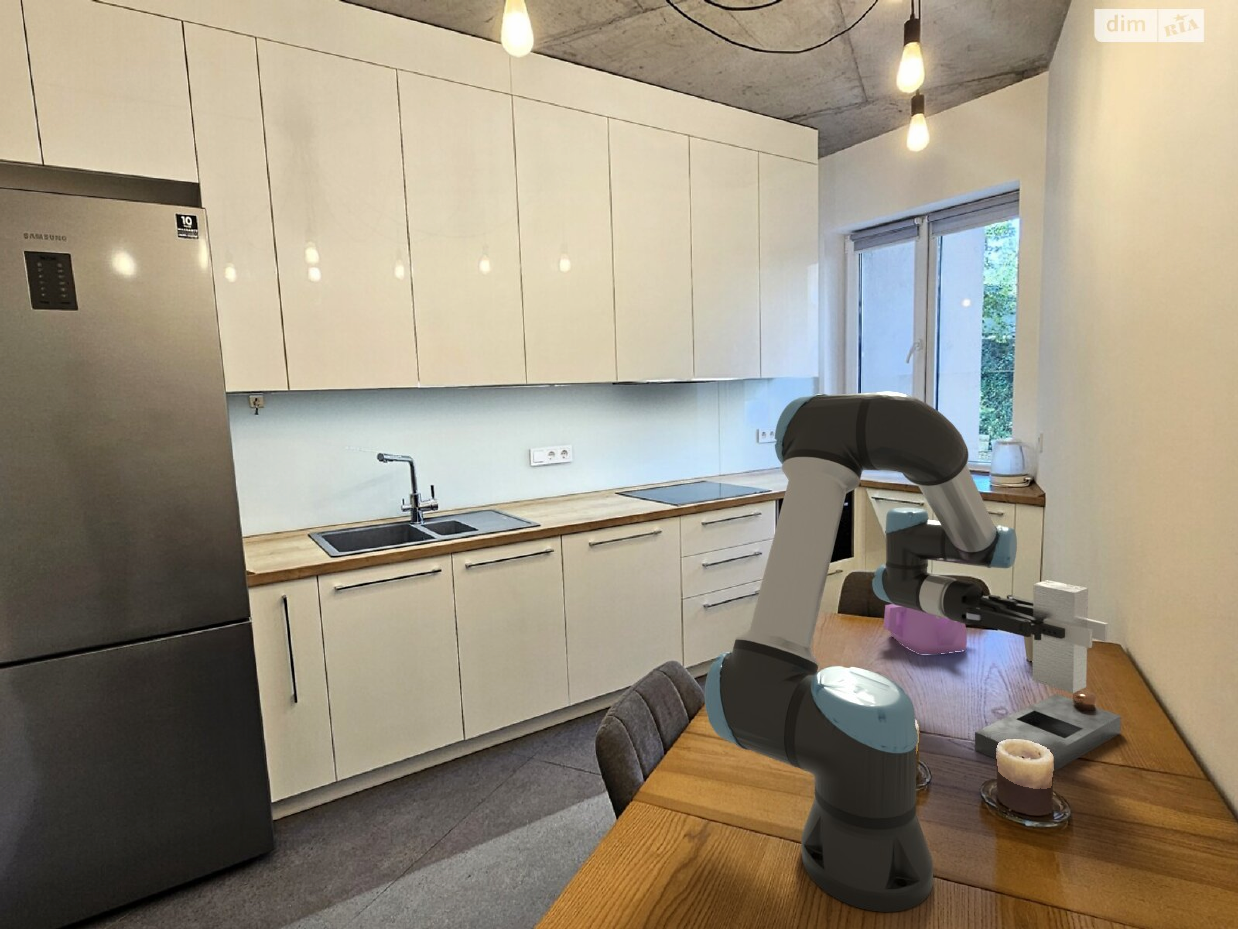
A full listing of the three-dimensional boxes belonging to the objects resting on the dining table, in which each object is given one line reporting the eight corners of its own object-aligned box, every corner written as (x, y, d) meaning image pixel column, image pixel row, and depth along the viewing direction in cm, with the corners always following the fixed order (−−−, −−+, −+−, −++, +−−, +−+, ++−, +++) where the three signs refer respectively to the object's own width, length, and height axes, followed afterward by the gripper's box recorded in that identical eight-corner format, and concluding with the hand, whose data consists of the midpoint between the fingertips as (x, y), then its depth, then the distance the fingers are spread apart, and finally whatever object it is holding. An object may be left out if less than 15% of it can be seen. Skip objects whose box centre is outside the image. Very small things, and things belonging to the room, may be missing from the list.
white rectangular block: (1073, 693, 100) (1074, 592, 98) (1032, 680, 105) (1033, 584, 104) (1086, 686, 102) (1088, 588, 100) (1045, 674, 107) (1046, 580, 106)
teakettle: (898, 626, 161) (897, 578, 160) (974, 639, 150) (974, 587, 149) (878, 649, 147) (877, 596, 146) (960, 664, 137) (960, 607, 136)
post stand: (1040, 779, 95) (1040, 747, 95) (974, 749, 104) (974, 720, 103) (1122, 732, 107) (1123, 703, 107) (1057, 709, 116) (1057, 682, 115)
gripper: (980, 610, 123) (1125, 647, 102) (923, 629, 114) (1069, 673, 94) (980, 571, 122) (1126, 601, 102) (923, 587, 114) (1070, 623, 93)
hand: (1098, 635), depth 98 cm, fingers closed on white rectangular block, 4 cm apart
